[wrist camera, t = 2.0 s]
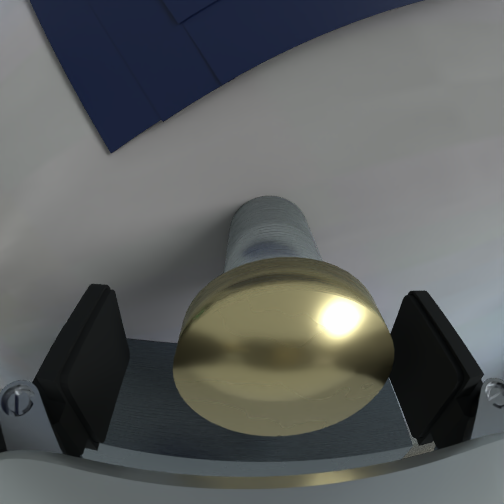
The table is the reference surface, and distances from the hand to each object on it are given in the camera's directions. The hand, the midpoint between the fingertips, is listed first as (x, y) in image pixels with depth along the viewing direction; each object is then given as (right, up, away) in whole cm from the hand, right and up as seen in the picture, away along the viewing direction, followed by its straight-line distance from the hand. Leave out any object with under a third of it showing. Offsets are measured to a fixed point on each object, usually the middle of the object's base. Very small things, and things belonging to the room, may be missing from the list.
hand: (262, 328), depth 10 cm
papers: (0, +23, -3) cm, 23 cm away
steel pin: (+1, +3, +7) cm, 7 cm away
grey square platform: (-2, -12, +15) cm, 20 cm away
